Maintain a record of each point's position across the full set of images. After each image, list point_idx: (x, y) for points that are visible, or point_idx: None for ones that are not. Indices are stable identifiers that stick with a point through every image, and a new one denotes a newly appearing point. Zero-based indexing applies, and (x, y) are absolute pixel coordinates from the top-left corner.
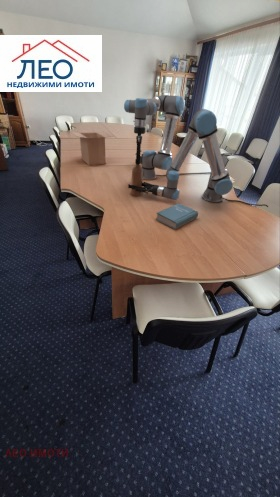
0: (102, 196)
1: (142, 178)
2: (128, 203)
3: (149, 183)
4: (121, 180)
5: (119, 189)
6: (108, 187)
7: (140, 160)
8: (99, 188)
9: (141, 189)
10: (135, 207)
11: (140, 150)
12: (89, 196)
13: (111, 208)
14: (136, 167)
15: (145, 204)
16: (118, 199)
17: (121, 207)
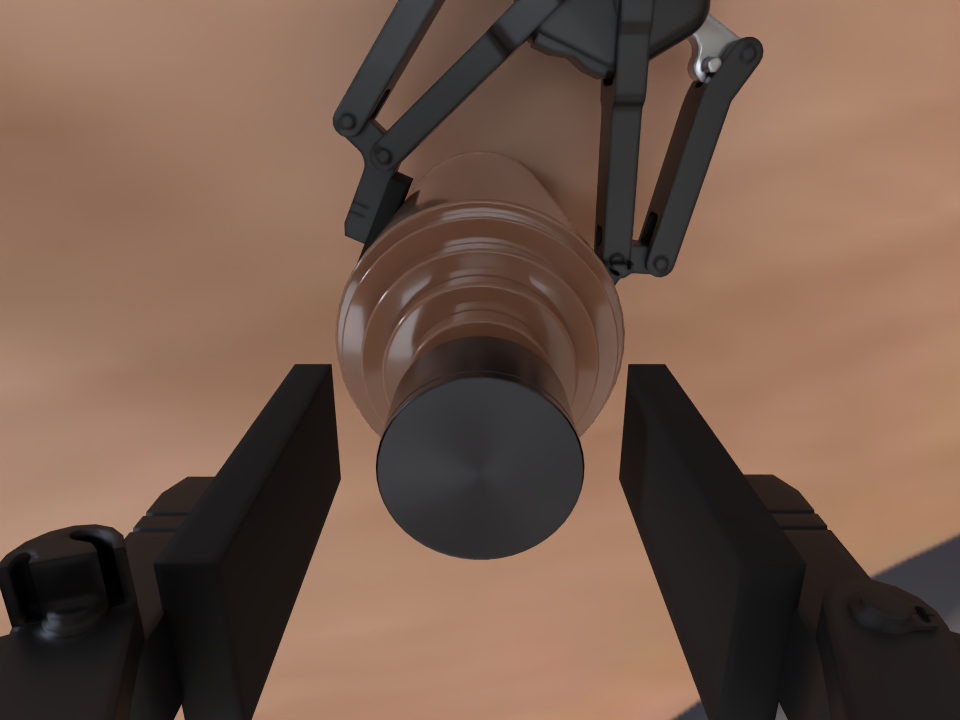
0: (617, 605)
1: (488, 175)
2: (802, 314)
3: (394, 9)
4: (27, 465)
5: (369, 458)
6: (338, 583)
7: (522, 381)
8: (395, 663)
9: (705, 168)
10: (924, 219)
11: (71, 631)
12: (631, 711)
13: (930, 483)
14: (569, 405)
15: (836, 80)
16: None
17: (912, 385)
